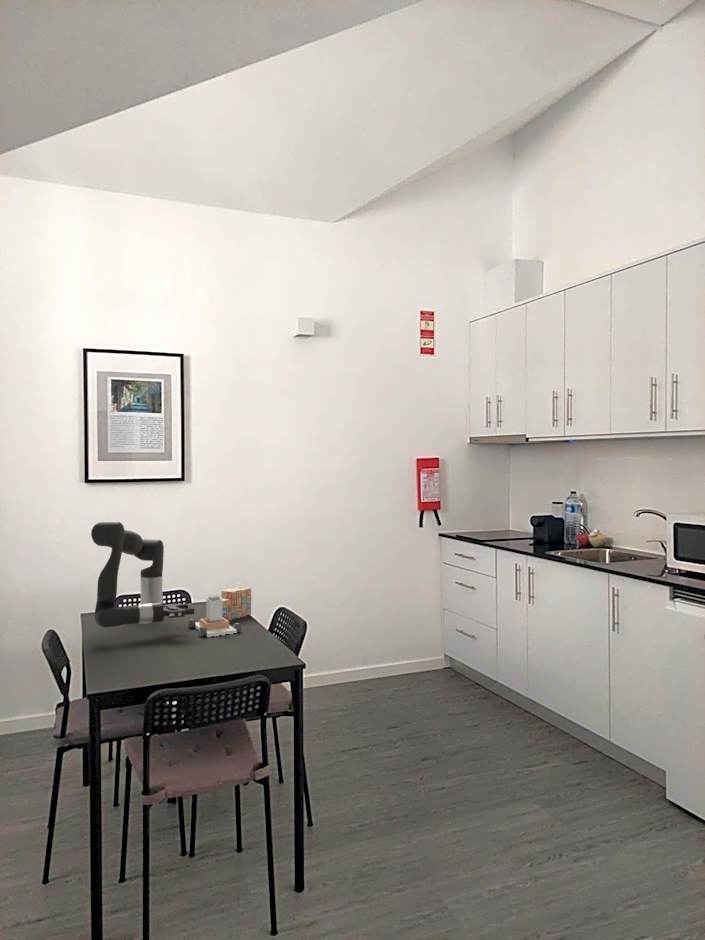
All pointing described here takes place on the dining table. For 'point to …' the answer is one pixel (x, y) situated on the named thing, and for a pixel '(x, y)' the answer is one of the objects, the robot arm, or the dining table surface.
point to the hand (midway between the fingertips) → (190, 608)
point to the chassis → (214, 627)
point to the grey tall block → (213, 609)
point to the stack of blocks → (236, 602)
